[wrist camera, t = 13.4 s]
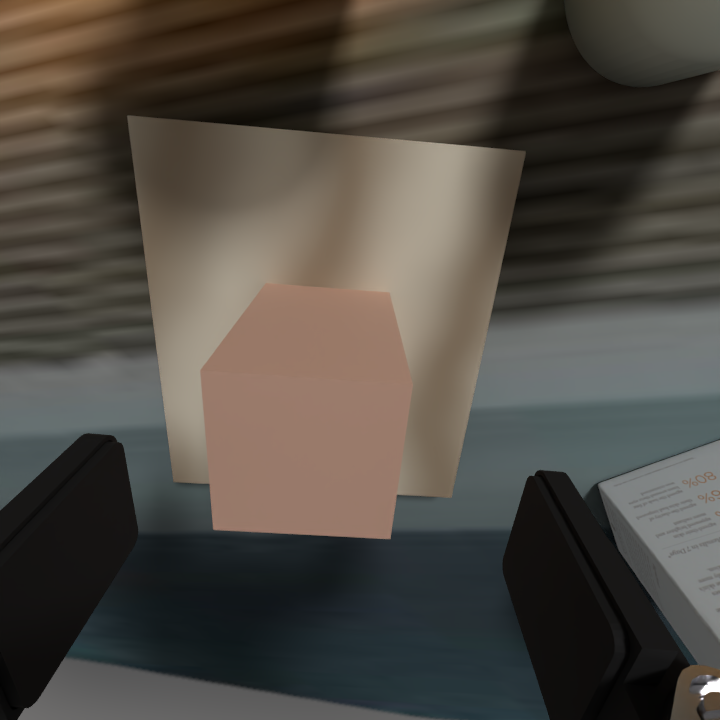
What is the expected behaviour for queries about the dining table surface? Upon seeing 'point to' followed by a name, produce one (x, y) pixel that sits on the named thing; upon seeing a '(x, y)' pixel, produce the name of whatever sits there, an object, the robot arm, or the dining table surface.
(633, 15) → the pale rounded smooth block
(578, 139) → the dining table surface
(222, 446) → the block
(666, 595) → the small box
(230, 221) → the board
